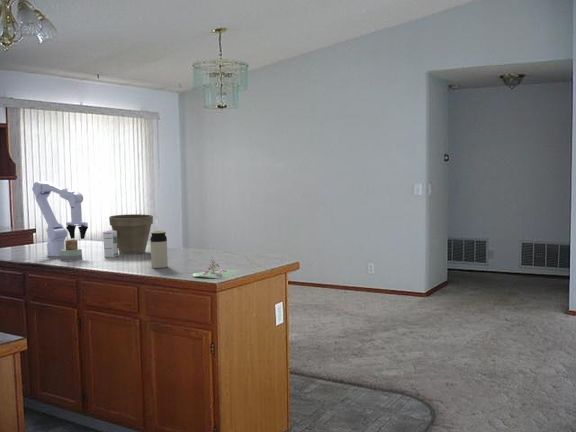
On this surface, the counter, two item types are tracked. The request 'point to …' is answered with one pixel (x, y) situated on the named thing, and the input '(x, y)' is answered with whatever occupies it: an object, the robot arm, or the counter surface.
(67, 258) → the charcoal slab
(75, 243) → the walnut block
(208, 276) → the plant
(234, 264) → the counter surface
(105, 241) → the syrup box
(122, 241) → the plant pot
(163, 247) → the travel mug
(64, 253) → the sage slab
